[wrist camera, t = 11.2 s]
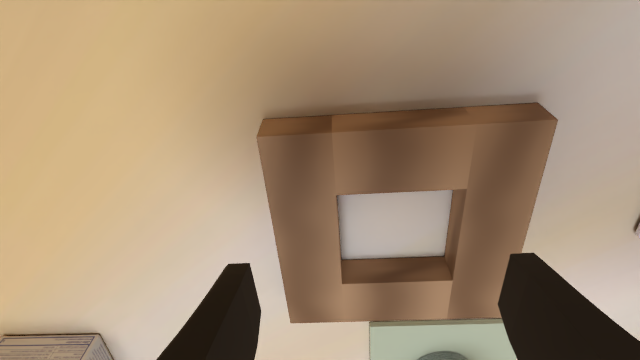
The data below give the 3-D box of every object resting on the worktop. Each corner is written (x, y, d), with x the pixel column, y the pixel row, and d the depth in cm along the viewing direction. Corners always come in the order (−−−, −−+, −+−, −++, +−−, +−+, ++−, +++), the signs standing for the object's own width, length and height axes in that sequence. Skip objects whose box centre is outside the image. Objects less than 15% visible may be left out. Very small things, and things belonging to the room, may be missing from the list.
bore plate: (537, 102, 19) (557, 119, 17) (492, 292, 26) (503, 317, 24) (263, 119, 20) (256, 136, 18) (293, 298, 27) (290, 323, 25)
